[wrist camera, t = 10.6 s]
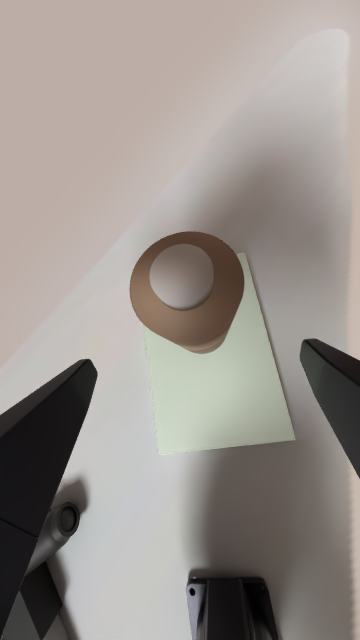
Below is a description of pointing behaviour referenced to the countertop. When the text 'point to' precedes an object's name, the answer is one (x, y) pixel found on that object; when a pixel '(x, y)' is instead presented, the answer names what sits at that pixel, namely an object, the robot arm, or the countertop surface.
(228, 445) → the serving board
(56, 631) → the door handle
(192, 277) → the brown capped cylinder
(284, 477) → the countertop surface
